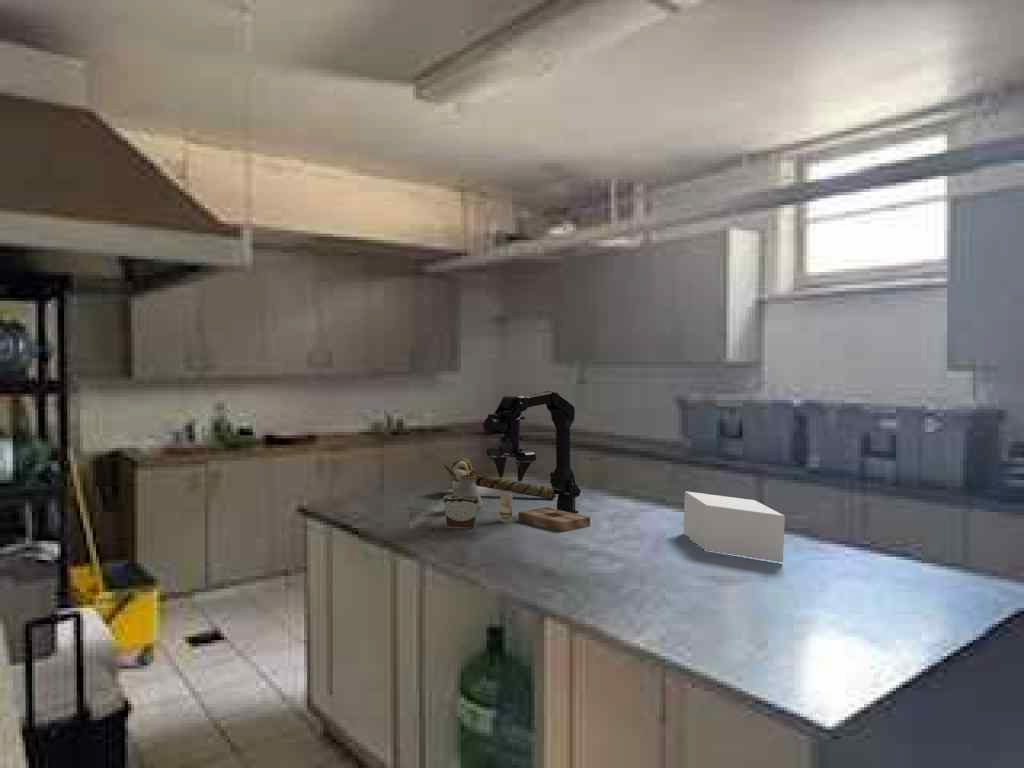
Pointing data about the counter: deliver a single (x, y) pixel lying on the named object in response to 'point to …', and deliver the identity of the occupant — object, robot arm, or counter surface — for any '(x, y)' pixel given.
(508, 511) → the birch peg
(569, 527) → the walnut board
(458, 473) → the decorative mallet
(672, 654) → the counter surface
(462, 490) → the coffee pot
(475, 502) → the food container
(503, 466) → the robot arm
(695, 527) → the box
